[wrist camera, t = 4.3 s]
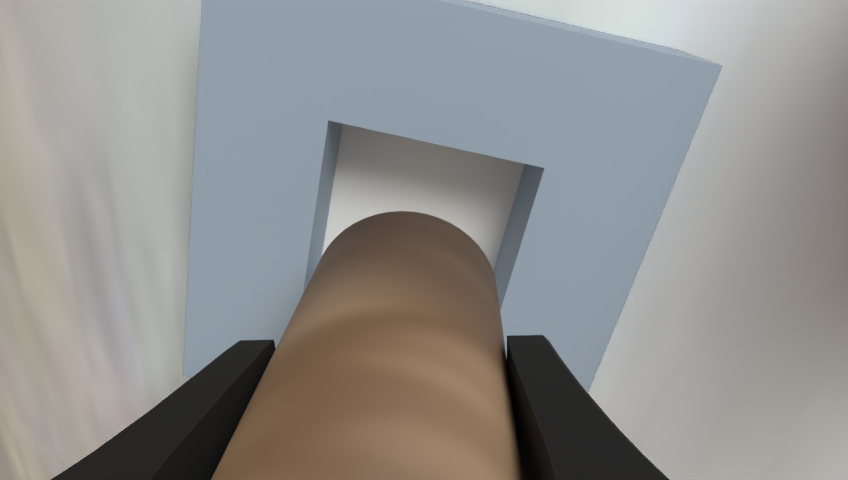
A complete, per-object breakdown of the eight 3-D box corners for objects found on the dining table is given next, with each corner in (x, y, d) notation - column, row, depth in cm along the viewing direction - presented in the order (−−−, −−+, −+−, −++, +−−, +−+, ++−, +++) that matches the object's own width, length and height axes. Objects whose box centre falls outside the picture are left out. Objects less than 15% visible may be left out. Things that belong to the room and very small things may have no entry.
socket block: (678, 49, 16) (722, 66, 14) (549, 390, 21) (563, 451, 19) (247, -51, 16) (204, -54, 13) (218, 322, 21) (182, 375, 18)
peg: (499, 209, 12) (566, 556, 5) (496, 374, 14) (542, 828, 6) (304, 212, 12) (79, 548, 5) (323, 373, 14) (173, 810, 7)
